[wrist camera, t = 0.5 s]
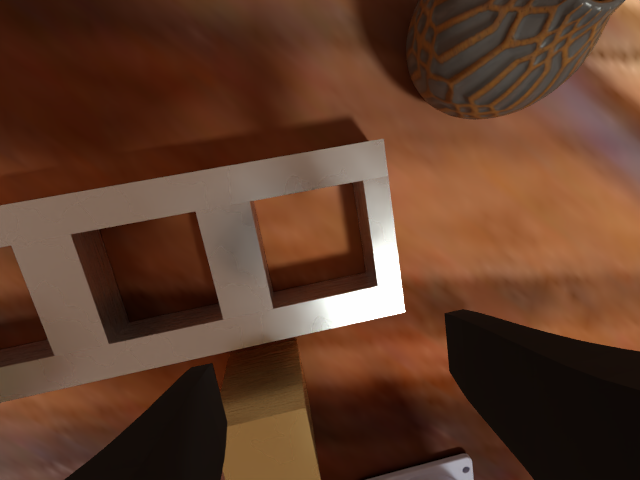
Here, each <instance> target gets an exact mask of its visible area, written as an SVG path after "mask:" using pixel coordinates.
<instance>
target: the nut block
mask: <svg viewBox="0 0 640 480" xmlns="http://www.w3.org/2000/svg"><path fill="white" fill-rule="evenodd" d="M220 395H221V399H222V403H223V407H224V410H225V414H226V418H227V422H228V423H227V438H226V450H225V459H224V464H223V473H224V476H225V480H321V476H320V470H319V463H318V457H317V450H316V443H315V437H314V430H313V424H312V417H311V410H310V404H309V397H308V392H307V387H306V383H305V378H304V373H303V368H302V363H301V358H300V354H299V349H298V344H297V339H296V340H292V341H287V342H283V343H278V344H274V345H270V346H265V347H261V348H256V349H252V350H247V351H243V352H238V353H234V354H230V355H229V359H228V363H227V367H226V371H225V376H224V380H223V384H222V388H221V392H220Z"/></svg>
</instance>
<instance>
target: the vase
mask: <svg viewBox="0 0 640 480" xmlns="http://www.w3.org/2000/svg"><path fill="white" fill-rule="evenodd" d="M624 1H625V0H419V1H418V3H417V5H416V7H415V10H414V13H413V15H412V18H411V21H410V25H409V30H408V35H407V43H406V57H407V65H408V70H409V74H410V77H411V79H412V82H413V84H414V86H415V87H416V89H417V91H418V92H419V94H420V95H421V96H422V97H423V98H424V99H425V100H426V101H427V102H428V103H429V104H430V105H431V106H433V107H434V108H436V109H437V110H439V111H441V112H443V113H446V114H448V115H451V116H454V117H458V118H464V119H488V118H494V117H499V116H504V115H507V114H511V113H514V112H517V111H519V110H522V109H524V108H526V107H528V106H530V105H532V104H534V103H536V102H537V101H539V100H541V99H542V98H544V97H546V96H547V95H548V94H550V93H551V92H553V91H554V90H555V89H557V88H558V87H559V86H560V85H562V84H563V83H564V82H565V81H566V80H568V79H569V78H570V77H571V76H572V75H573V74H574V73H575V72H576V71H577V70H578V68H579V67H580V66H581V65H582V64H583V62H584V61H585V60H586V58H587V57H588V56H589V54H590V53H591V51H592V50H593V48H594V46H595V45H596V43H597V41H598V40H599V38H600V36H601V34H602V32H603V30H604V28H605V26H606V24H607V22H608V20H609V18H610V16H611V15H612V14H613V13H614V11H615V10H616V9H617V8H618V7H619V6H620V5H621V4H622V3H623V2H624Z"/></svg>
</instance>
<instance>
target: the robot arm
mask: <svg viewBox="0 0 640 480" xmlns="http://www.w3.org/2000/svg"><path fill="white" fill-rule="evenodd" d="M445 325H446V336H447V348H448V360H449V371H450V373H451V374H452V376H453V378H454V379H455V381H456V382H457V384H458V386H459V387H460V389H461V390H462V392H463V393H464V395H465V396H466V398H467V399H468V401H469V402H470V403H471V404H472V405H473V407H474V408H475V409H476V410H477V412H478V413H479V414H480V415H481V416H482V418H483V419H484V420H485V421H486V422H487V423H488V425H489V426H490V427H491V428H492V429H493V431H494V432H495V433H496V434H497V435H498V436H499V438H500V439H501V440H502V441H503V442H504V444H505V445H506V446H507V447H508V448H509V449H510V451H511V452H512V453H513V454H514V455H515V457H516V458H517V459H518V460H519V461H520V462H521V464H522V465H523V466H524V467H525V469H526V470H527V471H528V472H529V474H530V475H531V476H532V477H533V479H534V480H640V351H633V350H627V349H621V348H616V347H610V346H605V345H600V344H594V343H589V342H585V341H580V340H576V339H572V338H568V337H564V336H560V335H556V334H552V333H548V332H544V331H540V330H537V329H533V328H530V327H526V326H523V325H519V324H516V323H512V322H509V321H506V320H502V319H499V318H495V317H492V316H489V315H485V314H482V313H478V312H474V311H469V310H464V309H462V310H458V311H453V312H448V313H445ZM227 423H228V422H227V418H226V414H225V410H224V407H223V403H222V399H221V395H220V391H219V387H218V383H217V379H216V376H215V372H214V368H213V364H212V363H210V364H205V365H201V366H196V367H191V368H190V369H189V370H188V371H186V372H185V373H184V374H183V375H182V376H181V377H180V378H179V379H178V380H177V381H176V382H175V383H174V384H173V385H172V386H171V387H170V388H169V389H168V390H167V391H166V392H165V393H164V394H163V395H162V396H160V397H159V398H158V399H157V400H156V401H155V402H154V403H153V404H152V405H151V406H150V407H149V408H148V409H147V410H146V411H145V412H144V413H143V414H142V415H141V416H140V417H139V418H137V419H136V420H135V421H134V422H133V423H132V424H131V425H130V426H129V427H127V428H126V429H125V430H124V431H123V432H122V433H121V434H120V435H119V436H118V437H116V438H115V439H114V440H113V441H112V442H111V443H110V444H108V445H107V446H106V447H105V448H104V449H103V450H101V451H100V452H99V453H98V454H97V455H95V456H94V457H93V458H92V459H90V460H89V461H88V462H87V463H85V464H84V465H83V466H81V467H80V468H79V469H78V470H76V471H75V472H74V473H72V474H71V475H70V476H69V477H67V478H66V479H65V480H220V479H221V474H222V469H223V464H224V459H225V450H226V438H227ZM366 480H474V479H473V467H472V460H471V458H470V457H469V455H468V454H459V455H455V456H452V457H448V458H444V459H441V460H437V461H433V462H429V463H426V464H422V465H418V466H414V467H411V468H407V469H403V470H400V471H396V472H392V473H388V474H385V475H381V476H377V477H374V478H370V479H366Z"/></svg>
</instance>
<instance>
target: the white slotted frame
mask: <svg viewBox="0 0 640 480" xmlns="http://www.w3.org/2000/svg"><path fill="white" fill-rule="evenodd" d="M352 182H353V188H354V195H355V202H356V209H357V215H358V222H359V229H360V236H361V242H362V249H363V256H364V263H365V269H366V273H361V274H356V275H352V276H347V277H342V278H337V279H333V280H328V281H323V282H318V283H314V284H309V285H304V286H299V287H295V288H290V289H285V290H280V291H276V292H273V289H272V284H271V280H270V275H269V270H268V266H267V261H266V256H265V252H264V247H263V243H262V238H261V233H260V229H259V224H258V220H257V215H256V210H255V206H254V200H260V199H265V198H270V197H276V196H281V195H287V194H292V193H298V192H303V191H308V190H314V189H319V188H325V187H330V186H335V185H341V184H346V183H352ZM189 212H196V216H197V219H198V223H199V227H200V231H201V235H202V239H203V243H204V247H205V250H206V254H207V258H208V262H209V266H210V270H211V274H212V278H213V281H214V285H215V289H216V293H217V297H218V301H219V304H214V305H209V306H204V307H200V308H195V309H190V310H185V311H181V312H176V313H171V314H166V315H162V316H157V317H152V318H147V319H143V320H138V321H133V322H129V320H128V317H127V314H126V311H125V307H124V304H123V301H122V298H121V295H120V292H119V289H118V286H117V283H116V280H115V277H114V274H113V271H112V268H111V265H110V262H109V259H108V256H107V253H106V250H105V247H104V244H103V240H102V237H101V234H100V231H99V229H103V228H108V227H113V226H119V225H124V224H130V223H135V222H141V221H146V220H151V219H157V218H162V217H168V216H173V215H178V214H184V213H189ZM5 246H11V247H12V249H13V252H14V254H15V257H16V259H17V262H18V264H19V267H20V269H21V272H22V275H23V277H24V280H25V282H26V285H27V287H28V290H29V292H30V295H31V297H32V300H33V302H34V305H35V308H36V310H37V313H38V315H39V318H40V320H41V323H42V325H43V328H44V330H45V333H46V335H47V338H48V340H43V341H38V342H34V343H29V344H24V345H19V346H15V347H10V348H5V349H0V403H1V402H5V401H10V400H14V399H19V398H23V397H28V396H32V395H37V394H41V393H45V392H50V391H54V390H59V389H63V388H68V387H72V386H77V385H81V384H86V383H90V382H95V381H99V380H103V379H108V378H112V377H117V376H121V375H126V374H130V373H135V372H139V371H144V370H148V369H153V368H157V367H161V366H166V365H170V364H175V363H179V362H184V361H188V360H193V359H197V358H202V357H206V356H211V355H215V354H220V353H224V352H228V351H233V350H237V349H242V348H246V347H251V346H255V345H260V344H264V343H269V342H273V341H278V340H282V339H286V338H291V337H295V336H300V335H304V334H309V333H313V332H318V331H322V330H327V329H331V328H336V327H340V326H344V325H349V324H353V323H358V322H362V321H367V320H371V319H376V318H380V317H385V316H389V315H394V314H398V313H402V312H405V308H404V300H403V292H402V284H401V276H400V268H399V260H398V252H397V244H396V235H395V227H394V219H393V211H392V203H391V195H390V187H389V179H388V171H387V163H386V155H385V146H384V139H379V140H373V141H368V142H362V143H356V144H350V145H345V146H339V147H333V148H327V149H322V150H316V151H310V152H304V153H299V154H293V155H287V156H281V157H276V158H270V159H264V160H258V161H253V162H247V163H241V164H235V165H230V166H224V167H218V168H212V169H207V170H201V171H195V172H189V173H184V174H178V175H172V176H166V177H161V178H155V179H149V180H144V181H138V182H132V183H126V184H121V185H115V186H109V187H103V188H98V189H92V190H86V191H80V192H75V193H69V194H63V195H57V196H52V197H46V198H40V199H34V200H29V201H23V202H17V203H11V204H6V205H0V247H5Z"/></svg>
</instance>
